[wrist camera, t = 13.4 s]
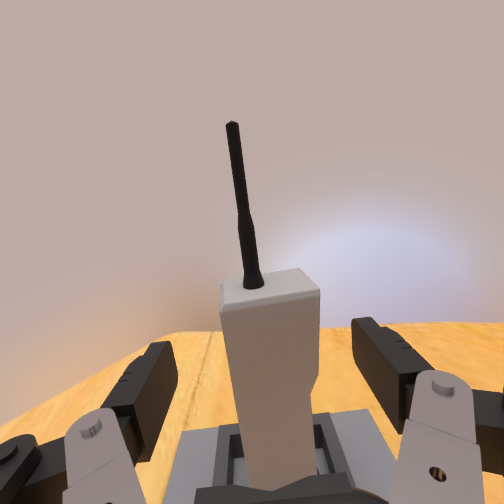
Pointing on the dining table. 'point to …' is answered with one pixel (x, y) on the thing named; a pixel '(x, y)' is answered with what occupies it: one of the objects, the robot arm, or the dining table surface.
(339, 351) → the dining table surface
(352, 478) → the dock board
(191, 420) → the dining table surface
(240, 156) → the vintage mobile phone
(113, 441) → the robot arm
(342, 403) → the dining table surface
